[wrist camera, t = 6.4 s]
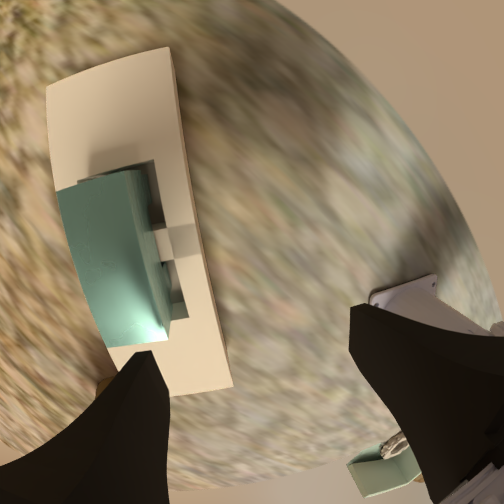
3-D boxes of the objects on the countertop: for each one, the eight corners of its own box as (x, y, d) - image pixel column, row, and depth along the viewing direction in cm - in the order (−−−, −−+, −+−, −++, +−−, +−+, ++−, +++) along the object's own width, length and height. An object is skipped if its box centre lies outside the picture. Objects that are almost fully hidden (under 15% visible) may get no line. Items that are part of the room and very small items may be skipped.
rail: (227, 351, 20) (233, 386, 17) (141, 364, 20) (134, 400, 16) (174, 71, 14) (169, 46, 10) (73, 100, 13) (46, 87, 9)
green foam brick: (176, 287, 16) (168, 339, 11) (130, 295, 16) (106, 348, 11) (150, 169, 14) (123, 170, 9) (101, 182, 14) (56, 191, 8)
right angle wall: (432, 414, 33) (455, 440, 26) (389, 458, 36) (406, 484, 29) (395, 416, 30) (421, 451, 23) (346, 464, 32) (363, 498, 25)
